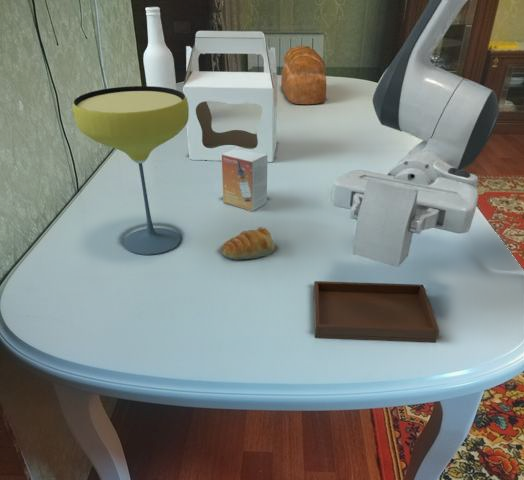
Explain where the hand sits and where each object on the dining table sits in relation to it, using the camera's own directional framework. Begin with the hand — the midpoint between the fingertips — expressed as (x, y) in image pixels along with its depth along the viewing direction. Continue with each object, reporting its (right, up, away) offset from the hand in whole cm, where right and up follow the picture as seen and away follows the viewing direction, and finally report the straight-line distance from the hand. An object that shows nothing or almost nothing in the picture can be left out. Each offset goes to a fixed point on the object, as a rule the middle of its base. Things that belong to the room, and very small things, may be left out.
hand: (384, 221), depth 67 cm
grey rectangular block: (0, -4, +4) cm, 6 cm away
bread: (-2, +76, +118) cm, 140 cm away
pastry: (-18, +1, +26) cm, 32 cm away
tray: (0, -12, +10) cm, 15 cm away
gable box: (-24, +36, +69) cm, 81 cm away
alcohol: (-47, +55, +93) cm, 117 cm away
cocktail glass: (-37, +3, +29) cm, 47 cm away
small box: (-20, +15, +43) cm, 50 cm away
